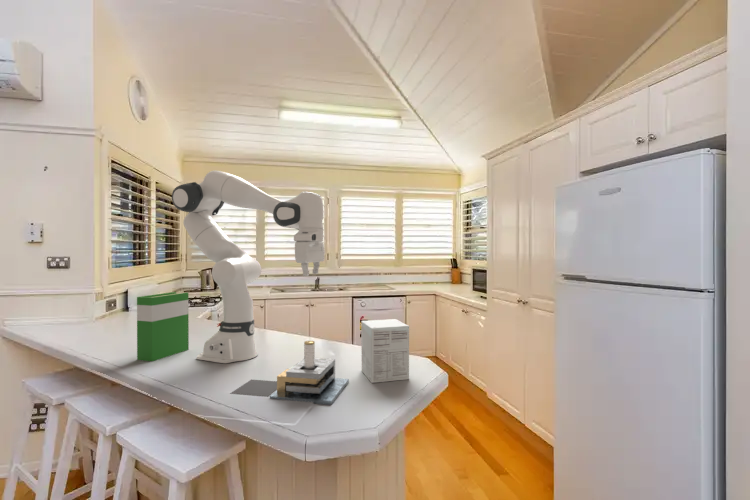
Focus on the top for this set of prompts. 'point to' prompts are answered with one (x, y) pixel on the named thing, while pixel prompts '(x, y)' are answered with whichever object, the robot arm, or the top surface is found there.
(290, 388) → the grey layered square block
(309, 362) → the pin
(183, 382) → the top surface
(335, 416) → the top surface
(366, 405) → the top surface
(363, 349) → the supplement box
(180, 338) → the hardback book
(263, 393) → the mat
